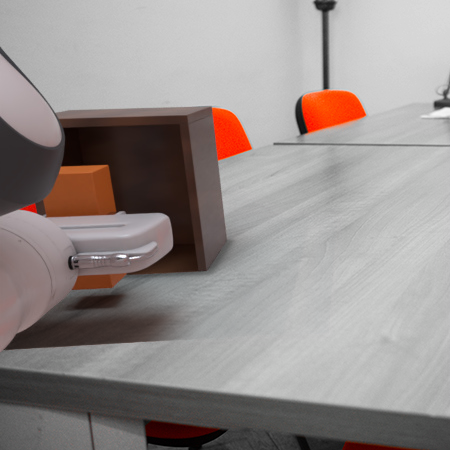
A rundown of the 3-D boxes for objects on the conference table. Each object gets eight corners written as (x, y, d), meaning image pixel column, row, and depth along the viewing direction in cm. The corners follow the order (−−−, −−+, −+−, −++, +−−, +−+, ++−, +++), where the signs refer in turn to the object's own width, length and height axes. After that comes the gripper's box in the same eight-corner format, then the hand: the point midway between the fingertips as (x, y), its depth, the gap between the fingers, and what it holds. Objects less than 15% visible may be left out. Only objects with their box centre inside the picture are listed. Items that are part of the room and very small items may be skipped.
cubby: (53, 290, 68) (17, 119, 62) (95, 256, 79) (69, 110, 73) (208, 282, 69) (187, 114, 63) (228, 250, 80) (211, 106, 75)
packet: (61, 291, 58) (37, 174, 54) (79, 276, 61) (57, 166, 58) (112, 288, 58) (92, 172, 55) (127, 274, 62) (108, 164, 58)
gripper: (140, 223, 45) (187, 186, 59) (-135, 235, 44) (-23, 194, 57) (151, 297, 47) (194, 244, 60) (-112, 310, 46) (-9, 253, 59)
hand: (87, 220), depth 59 cm, fingers closed on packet, 5 cm apart
